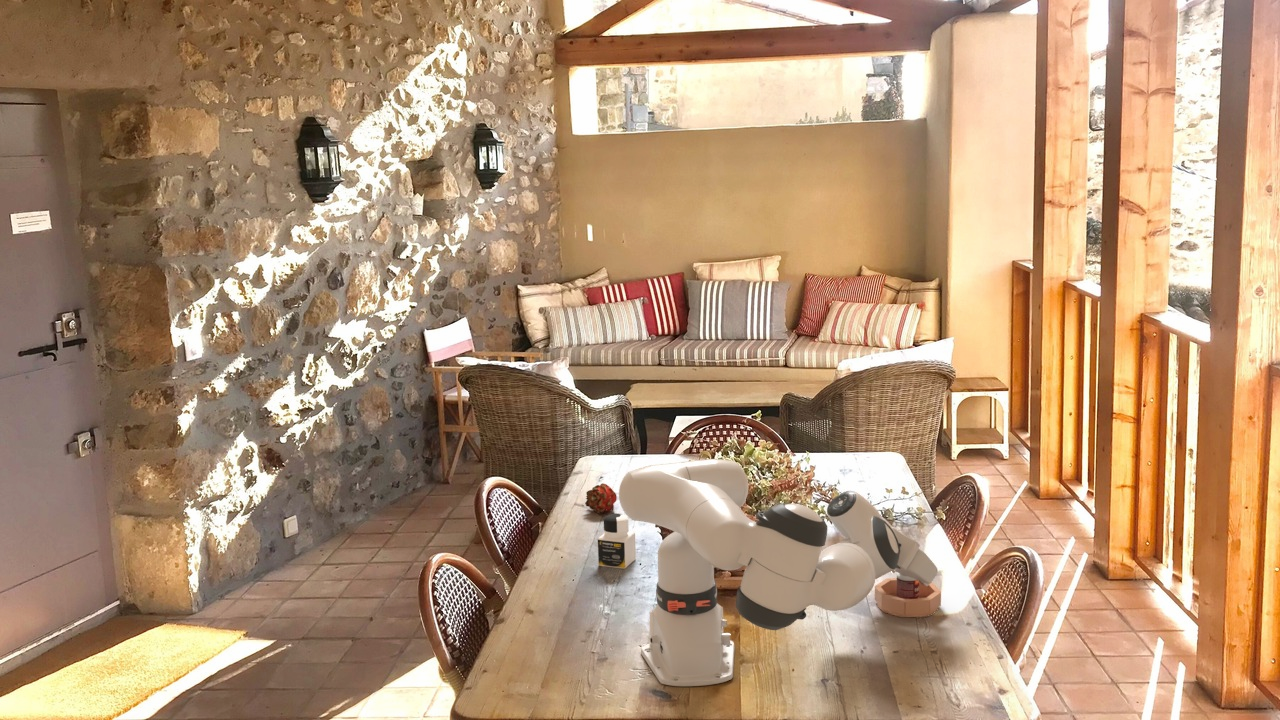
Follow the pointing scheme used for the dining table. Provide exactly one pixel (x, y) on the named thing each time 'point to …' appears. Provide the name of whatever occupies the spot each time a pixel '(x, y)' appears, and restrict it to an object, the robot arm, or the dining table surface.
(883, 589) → the bowl
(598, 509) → the dragon fruit
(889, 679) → the dining table surface
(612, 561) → the medicine bottle
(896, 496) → the dining table surface
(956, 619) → the dining table surface
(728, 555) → the robot arm
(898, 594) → the pill bottle
